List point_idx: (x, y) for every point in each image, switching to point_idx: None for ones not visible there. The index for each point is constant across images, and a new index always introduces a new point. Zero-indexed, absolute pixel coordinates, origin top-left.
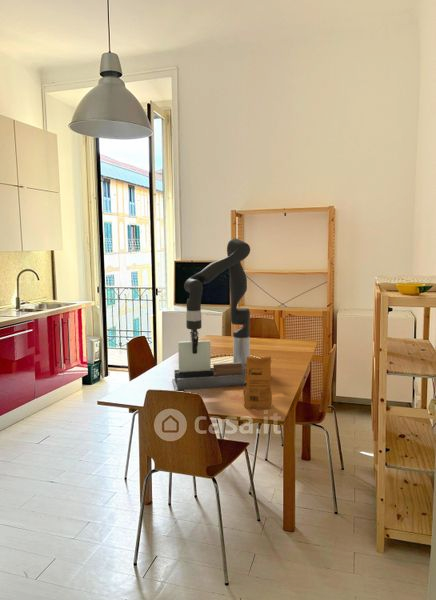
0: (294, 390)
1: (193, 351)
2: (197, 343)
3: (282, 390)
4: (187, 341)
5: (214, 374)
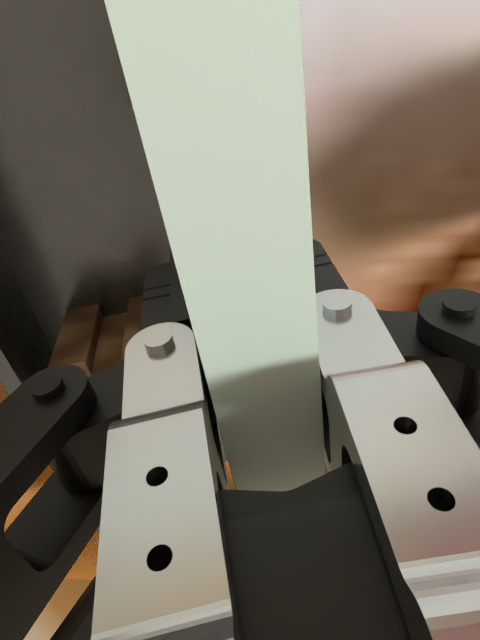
0: (89, 579)
1: (161, 275)
2: (22, 525)
3: (82, 554)
4: (299, 245)
5: (125, 340)
